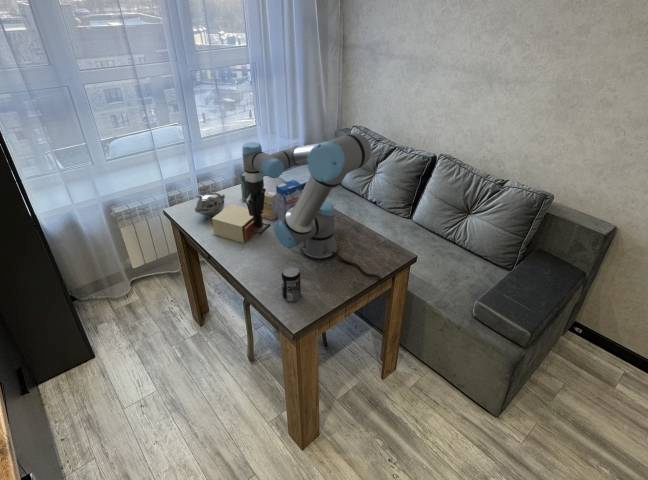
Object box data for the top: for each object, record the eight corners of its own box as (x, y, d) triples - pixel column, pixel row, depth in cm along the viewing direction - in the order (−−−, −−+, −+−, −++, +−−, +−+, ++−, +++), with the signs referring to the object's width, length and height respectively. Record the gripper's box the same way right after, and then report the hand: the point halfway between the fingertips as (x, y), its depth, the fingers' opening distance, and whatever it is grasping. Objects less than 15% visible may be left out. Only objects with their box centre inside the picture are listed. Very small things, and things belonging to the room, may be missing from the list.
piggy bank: (192, 214, 193) (189, 194, 187) (222, 206, 201) (219, 186, 195) (201, 225, 185) (197, 203, 180) (231, 215, 193) (228, 195, 187)
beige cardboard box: (260, 227, 186) (259, 211, 182) (243, 243, 175) (241, 226, 170) (232, 219, 191) (230, 204, 186) (214, 234, 179) (211, 218, 175)
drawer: (273, 230, 183) (273, 217, 179) (258, 244, 172) (257, 231, 169) (236, 220, 189) (235, 207, 185) (219, 233, 178) (218, 221, 175)
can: (256, 200, 207) (254, 174, 200) (245, 203, 204) (242, 177, 197) (251, 195, 212) (249, 170, 204) (240, 198, 209) (238, 172, 201)
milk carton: (285, 228, 186) (283, 190, 176) (277, 222, 190) (275, 185, 180) (302, 221, 192) (301, 184, 182) (295, 216, 196) (294, 179, 185)
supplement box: (258, 216, 194) (256, 193, 187) (263, 212, 198) (262, 188, 191) (273, 220, 191) (271, 196, 185) (278, 216, 195) (277, 192, 188)
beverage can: (287, 288, 151) (285, 263, 144) (303, 292, 149) (303, 267, 143) (279, 300, 145) (278, 274, 139) (296, 304, 144) (295, 279, 137)
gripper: (255, 171, 171) (258, 217, 183) (237, 183, 160) (242, 231, 172) (270, 174, 168) (272, 221, 181) (253, 187, 158) (257, 236, 170)
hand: (257, 226), depth 177 cm, fingers closed
